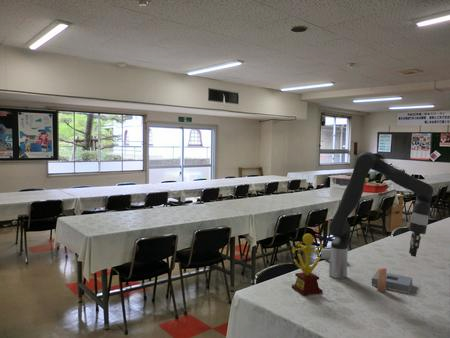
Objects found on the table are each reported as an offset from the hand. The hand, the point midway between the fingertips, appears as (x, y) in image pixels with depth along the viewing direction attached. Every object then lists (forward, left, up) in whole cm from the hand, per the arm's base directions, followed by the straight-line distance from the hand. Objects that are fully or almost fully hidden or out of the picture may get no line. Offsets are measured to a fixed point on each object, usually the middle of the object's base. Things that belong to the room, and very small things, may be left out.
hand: (412, 255), depth 175 cm
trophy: (-46, -22, -22) cm, 55 cm away
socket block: (-11, +13, -22) cm, 27 cm away
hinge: (-51, +37, -22) cm, 66 cm away
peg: (-14, +1, -22) cm, 26 cm away
